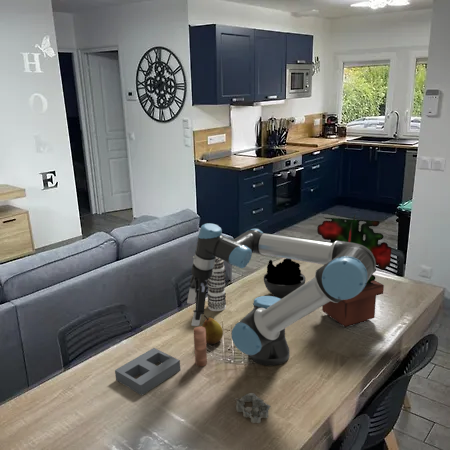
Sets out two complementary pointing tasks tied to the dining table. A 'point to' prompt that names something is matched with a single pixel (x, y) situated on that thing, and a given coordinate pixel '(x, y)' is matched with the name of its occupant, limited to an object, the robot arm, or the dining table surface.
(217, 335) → the fruit
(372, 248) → the potted plant
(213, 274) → the decorative candle
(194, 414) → the dining table surface
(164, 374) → the socket block
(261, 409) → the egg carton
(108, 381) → the dining table surface
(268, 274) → the bowl of black rocks
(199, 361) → the peg
